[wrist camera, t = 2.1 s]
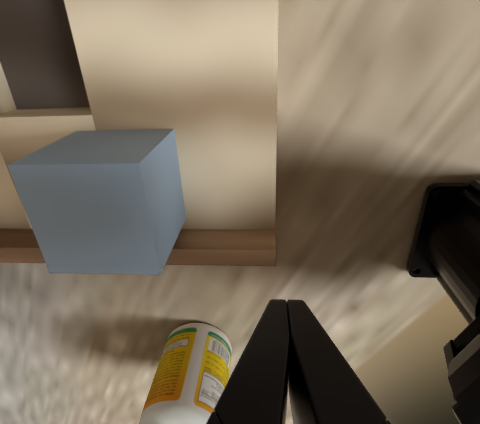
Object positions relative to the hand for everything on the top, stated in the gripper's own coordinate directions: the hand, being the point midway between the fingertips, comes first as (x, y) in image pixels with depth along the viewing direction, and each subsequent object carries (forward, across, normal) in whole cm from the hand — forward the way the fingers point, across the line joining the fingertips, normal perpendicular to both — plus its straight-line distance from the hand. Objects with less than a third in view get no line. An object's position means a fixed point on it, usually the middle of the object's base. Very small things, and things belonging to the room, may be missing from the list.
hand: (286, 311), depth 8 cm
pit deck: (+12, +10, -3) cm, 16 cm away
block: (+10, +8, 0) cm, 12 cm away
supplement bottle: (+12, +6, +16) cm, 21 cm away
